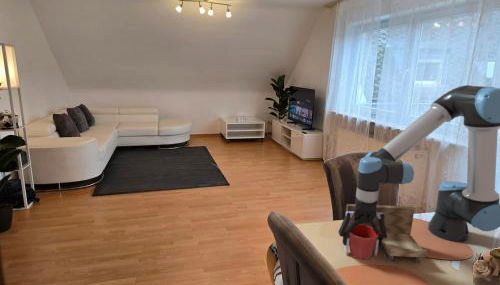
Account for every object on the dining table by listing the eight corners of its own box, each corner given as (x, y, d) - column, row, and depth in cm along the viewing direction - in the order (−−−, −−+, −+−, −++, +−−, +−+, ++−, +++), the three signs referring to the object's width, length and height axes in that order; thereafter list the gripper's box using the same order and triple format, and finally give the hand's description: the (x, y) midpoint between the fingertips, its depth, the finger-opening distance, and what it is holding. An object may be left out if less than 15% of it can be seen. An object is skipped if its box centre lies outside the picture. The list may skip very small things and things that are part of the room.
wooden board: (406, 242, 131) (412, 206, 127) (408, 245, 129) (414, 208, 125) (343, 239, 132) (346, 203, 128) (344, 242, 130) (348, 206, 126)
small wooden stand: (407, 245, 129) (409, 231, 128) (424, 265, 115) (427, 251, 114) (375, 243, 130) (376, 230, 128) (388, 264, 116) (390, 249, 115)
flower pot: (378, 263, 116) (381, 239, 114) (347, 259, 118) (349, 236, 116) (373, 248, 126) (375, 225, 124) (344, 244, 128) (346, 222, 126)
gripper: (393, 196, 120) (386, 248, 125) (333, 193, 121) (328, 246, 126) (402, 204, 113) (394, 259, 118) (337, 202, 114) (332, 257, 119)
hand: (360, 252), depth 122 cm, fingers closed on flower pot, 10 cm apart
